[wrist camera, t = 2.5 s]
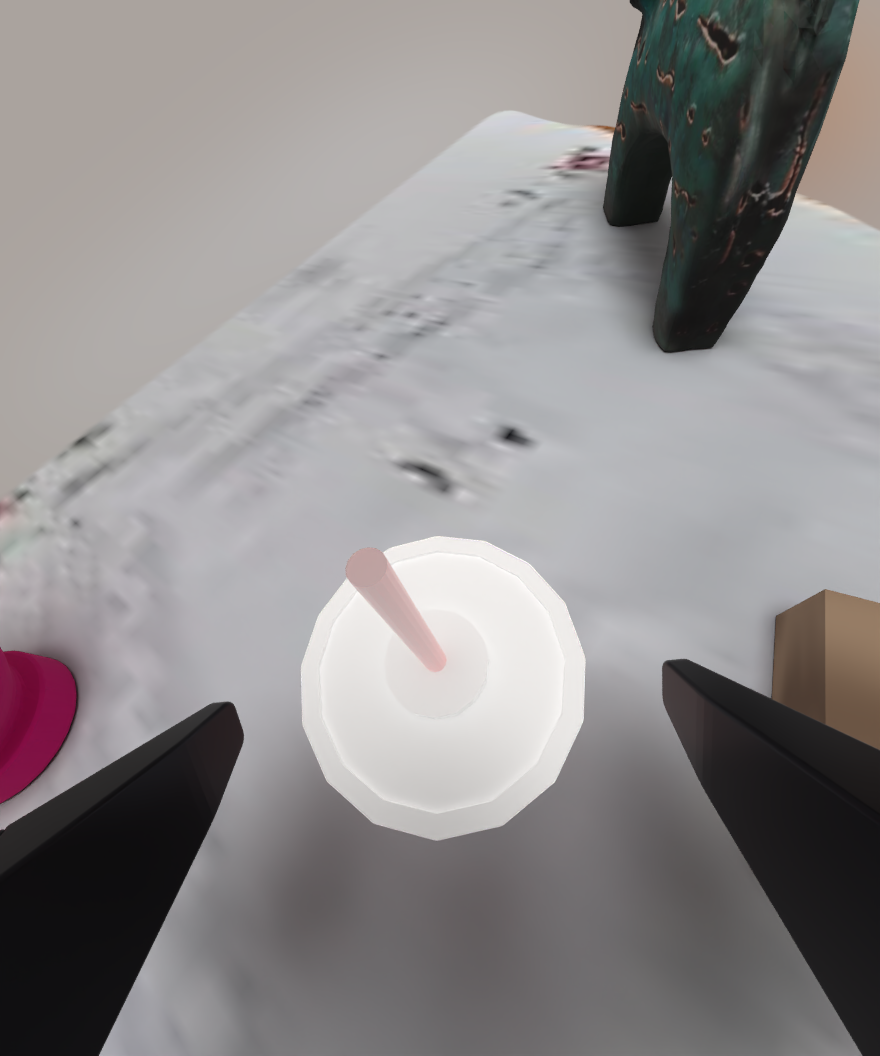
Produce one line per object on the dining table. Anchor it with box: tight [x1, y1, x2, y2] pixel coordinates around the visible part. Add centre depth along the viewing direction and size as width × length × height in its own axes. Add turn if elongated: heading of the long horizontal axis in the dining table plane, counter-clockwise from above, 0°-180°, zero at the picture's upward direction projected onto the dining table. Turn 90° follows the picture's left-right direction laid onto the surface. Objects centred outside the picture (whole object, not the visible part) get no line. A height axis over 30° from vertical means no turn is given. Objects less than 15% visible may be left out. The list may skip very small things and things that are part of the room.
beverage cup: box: [301, 536, 585, 841], centre depth 11 cm, size 6×6×14 cm
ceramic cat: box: [603, 0, 859, 352], centre depth 20 cm, size 20×6×20 cm, turn 179°
